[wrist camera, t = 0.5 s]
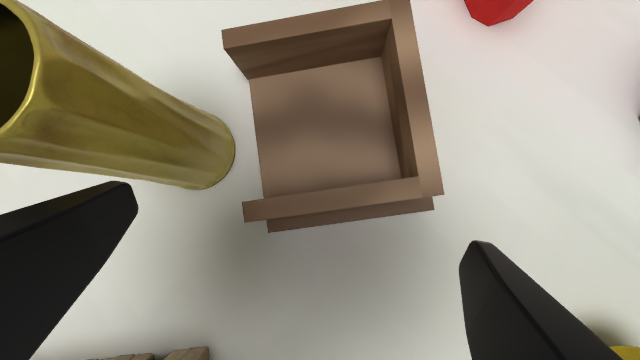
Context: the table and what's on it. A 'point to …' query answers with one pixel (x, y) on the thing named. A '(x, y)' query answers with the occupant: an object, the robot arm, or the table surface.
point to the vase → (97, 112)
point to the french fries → (495, 10)
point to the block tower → (170, 355)
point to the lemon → (627, 352)
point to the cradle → (338, 116)
